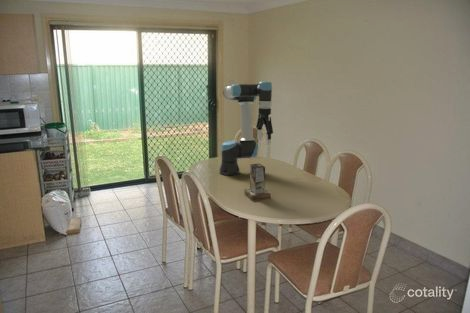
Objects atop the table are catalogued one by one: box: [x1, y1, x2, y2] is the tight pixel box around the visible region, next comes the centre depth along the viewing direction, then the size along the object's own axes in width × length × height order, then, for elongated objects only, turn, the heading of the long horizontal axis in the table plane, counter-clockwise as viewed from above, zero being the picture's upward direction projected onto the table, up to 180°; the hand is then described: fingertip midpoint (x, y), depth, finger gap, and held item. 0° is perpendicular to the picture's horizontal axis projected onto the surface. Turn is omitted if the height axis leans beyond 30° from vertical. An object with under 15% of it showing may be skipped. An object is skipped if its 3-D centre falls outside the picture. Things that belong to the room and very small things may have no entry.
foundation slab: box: [243, 188, 272, 202], centre depth 213 cm, size 12×12×3 cm
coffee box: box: [249, 163, 266, 194], centre depth 211 cm, size 9×6×16 cm
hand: (263, 142), depth 219 cm, fingers open, 13 cm apart
